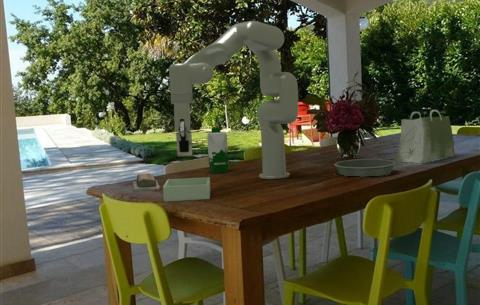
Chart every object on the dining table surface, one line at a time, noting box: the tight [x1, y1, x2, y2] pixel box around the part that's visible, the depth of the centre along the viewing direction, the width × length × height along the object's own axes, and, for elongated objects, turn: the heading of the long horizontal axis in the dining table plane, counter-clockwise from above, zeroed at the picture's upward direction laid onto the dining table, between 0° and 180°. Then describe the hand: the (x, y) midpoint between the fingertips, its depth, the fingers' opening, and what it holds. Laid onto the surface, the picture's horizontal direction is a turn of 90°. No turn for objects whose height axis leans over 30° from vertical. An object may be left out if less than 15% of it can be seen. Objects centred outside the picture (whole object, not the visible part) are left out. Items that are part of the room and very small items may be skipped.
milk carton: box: [206, 127, 229, 175], centre depth 240 cm, size 9×9×20 cm
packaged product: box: [132, 172, 161, 192], centre depth 213 cm, size 18×5×10 cm
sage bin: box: [162, 176, 211, 202], centre depth 189 cm, size 16×16×5 cm
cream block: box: [175, 131, 194, 157], centre depth 187 cm, size 5×5×8 cm
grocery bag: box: [395, 109, 455, 164], centre depth 246 cm, size 32×14×23 cm, turn 133°
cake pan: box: [333, 158, 397, 178], centre depth 218 cm, size 25×25×4 cm
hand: (184, 150), depth 187 cm, fingers closed on cream block, 5 cm apart
